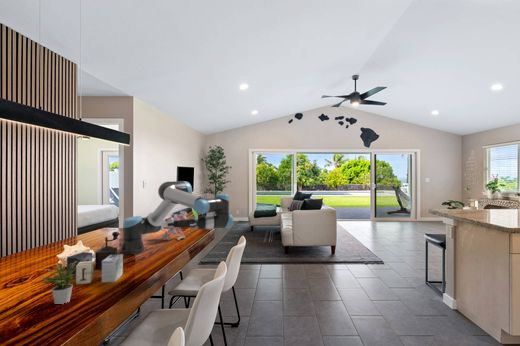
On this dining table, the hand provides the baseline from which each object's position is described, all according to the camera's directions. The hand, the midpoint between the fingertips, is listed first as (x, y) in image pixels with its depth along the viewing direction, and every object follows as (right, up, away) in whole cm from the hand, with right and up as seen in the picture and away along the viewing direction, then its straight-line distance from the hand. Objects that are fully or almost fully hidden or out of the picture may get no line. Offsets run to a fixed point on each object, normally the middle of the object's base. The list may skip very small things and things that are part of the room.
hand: (160, 224), depth 153 cm
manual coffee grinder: (-36, -26, +15) cm, 47 cm away
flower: (-18, -27, +78) cm, 85 cm away
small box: (-42, -26, -2) cm, 50 cm away
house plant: (-29, -26, -34) cm, 51 cm away
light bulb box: (-22, -26, -8) cm, 35 cm away
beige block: (-34, -26, -12) cm, 44 cm away
